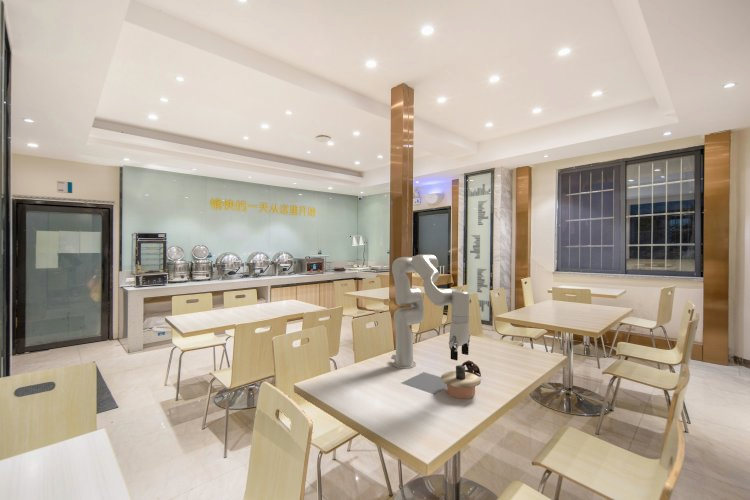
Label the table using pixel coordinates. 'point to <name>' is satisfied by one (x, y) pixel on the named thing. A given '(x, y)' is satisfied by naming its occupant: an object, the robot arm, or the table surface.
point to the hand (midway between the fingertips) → (459, 356)
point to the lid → (460, 378)
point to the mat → (426, 383)
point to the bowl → (460, 391)
